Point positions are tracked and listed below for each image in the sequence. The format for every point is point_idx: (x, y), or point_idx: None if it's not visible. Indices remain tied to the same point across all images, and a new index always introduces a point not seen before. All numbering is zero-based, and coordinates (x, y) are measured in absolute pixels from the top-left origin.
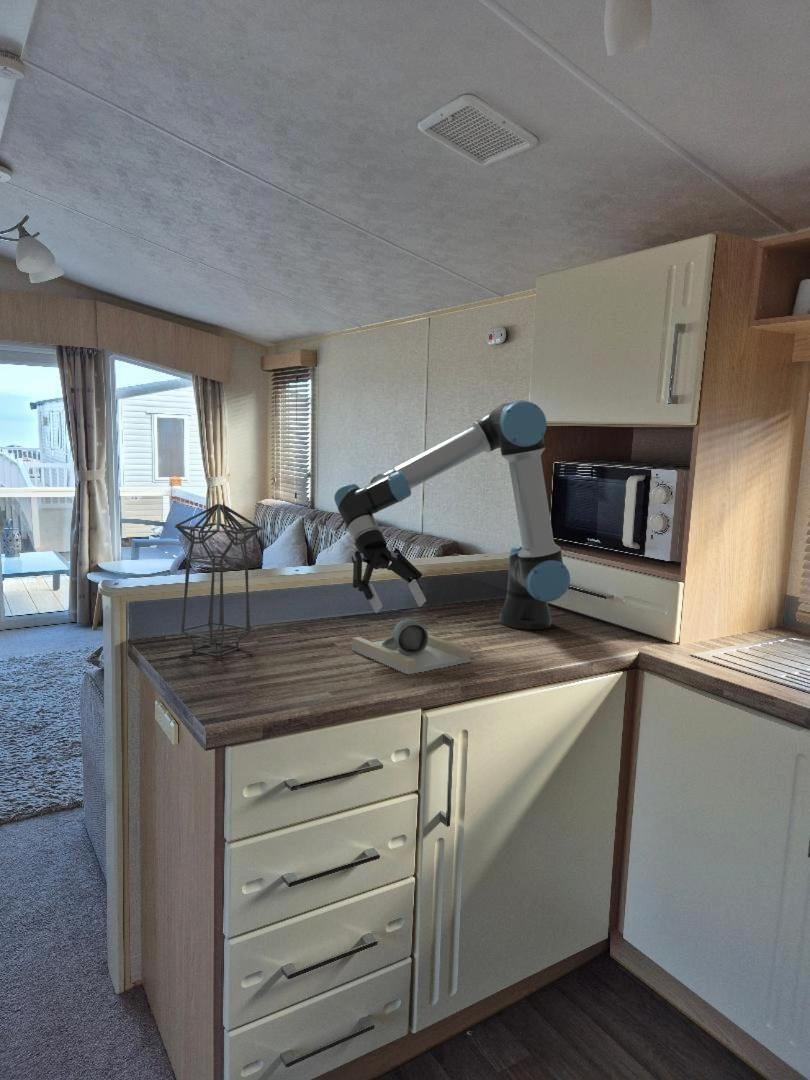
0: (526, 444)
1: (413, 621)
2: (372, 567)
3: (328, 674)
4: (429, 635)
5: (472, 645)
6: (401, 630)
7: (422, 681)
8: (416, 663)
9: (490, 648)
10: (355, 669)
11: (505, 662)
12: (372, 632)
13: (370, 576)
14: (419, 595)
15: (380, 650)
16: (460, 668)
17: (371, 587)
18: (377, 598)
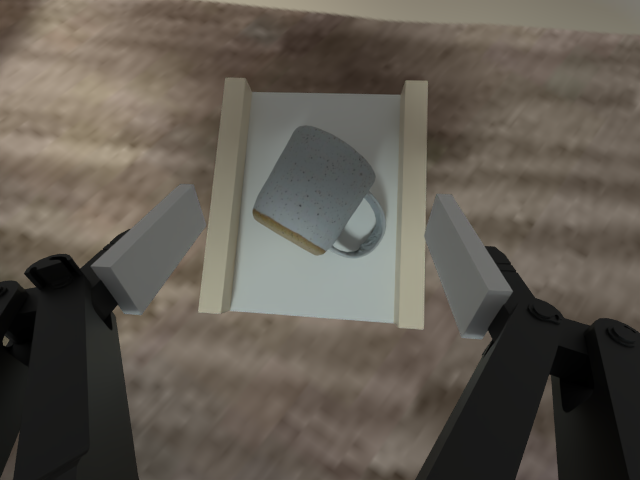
0: None
1: (304, 168)
2: (452, 471)
3: (574, 198)
4: (214, 226)
5: (125, 190)
6: (368, 163)
7: (415, 61)
8: (371, 121)
9: (112, 150)
10: (496, 194)
11: (172, 63)
12: (248, 438)
13: (495, 354)
14: (179, 214)
15: (425, 193)
16: (285, 81)
17: (496, 270)
18: (459, 219)
